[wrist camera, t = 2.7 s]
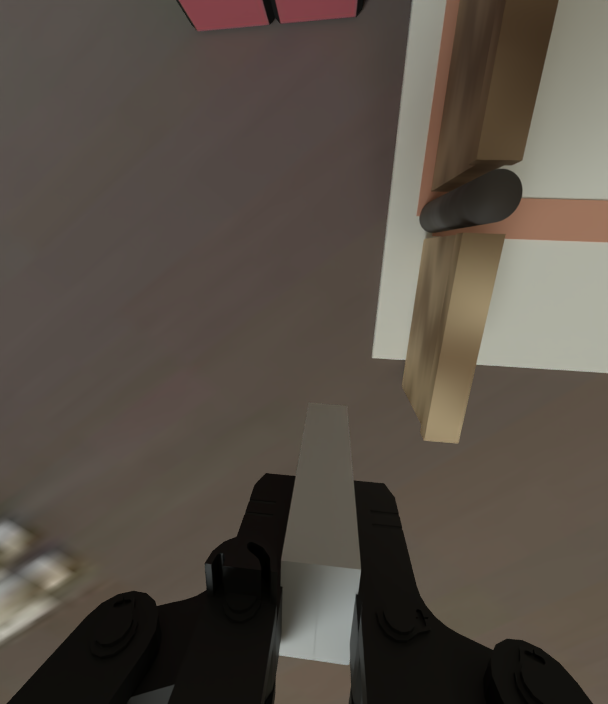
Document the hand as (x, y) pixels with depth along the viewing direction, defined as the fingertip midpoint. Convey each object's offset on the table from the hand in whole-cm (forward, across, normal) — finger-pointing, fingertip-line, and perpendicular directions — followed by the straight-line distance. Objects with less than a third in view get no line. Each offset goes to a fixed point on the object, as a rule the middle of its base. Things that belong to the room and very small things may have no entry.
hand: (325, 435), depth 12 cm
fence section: (+12, +6, +15) cm, 20 cm away
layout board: (+12, +12, +10) cm, 20 cm away
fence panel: (+12, +6, +3) cm, 13 cm away
